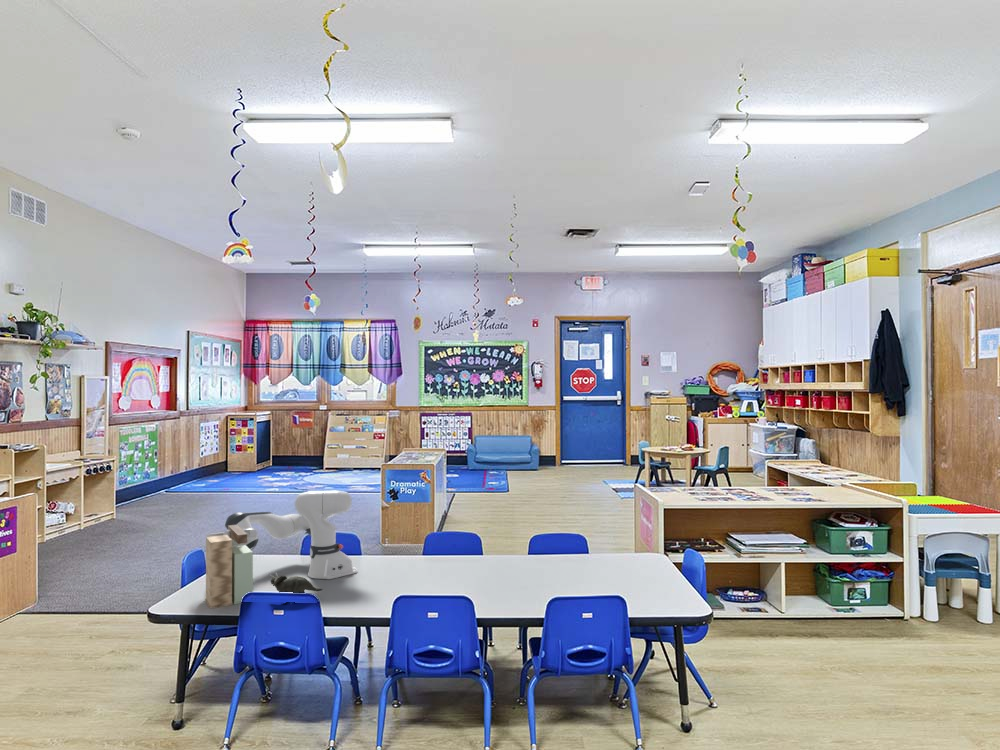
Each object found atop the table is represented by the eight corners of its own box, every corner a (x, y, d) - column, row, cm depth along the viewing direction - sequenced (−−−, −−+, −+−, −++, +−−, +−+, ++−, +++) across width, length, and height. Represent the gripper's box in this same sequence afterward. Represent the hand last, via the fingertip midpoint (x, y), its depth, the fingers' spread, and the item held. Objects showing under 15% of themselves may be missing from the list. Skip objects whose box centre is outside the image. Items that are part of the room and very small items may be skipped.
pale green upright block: (245, 591, 277) (245, 544, 277) (253, 600, 265) (253, 552, 265) (227, 594, 273) (227, 547, 273) (234, 604, 261) (234, 554, 261)
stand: (227, 596, 270) (227, 534, 270) (232, 604, 260) (232, 540, 261) (205, 600, 265) (205, 537, 266) (210, 608, 256) (210, 542, 256)
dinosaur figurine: (323, 597, 268) (323, 570, 268) (317, 604, 260) (317, 576, 260) (270, 598, 268) (270, 570, 268) (263, 605, 260) (263, 577, 260)
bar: (236, 532, 282) (236, 524, 283) (247, 542, 264) (247, 534, 264) (227, 533, 281) (227, 525, 281) (238, 543, 262) (238, 535, 262)
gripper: (255, 545, 290) (261, 535, 280) (205, 551, 279) (210, 541, 269) (253, 531, 293) (259, 521, 283) (204, 537, 282) (209, 526, 272)
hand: (235, 531), depth 276 cm, fingers closed on bar, 3 cm apart
